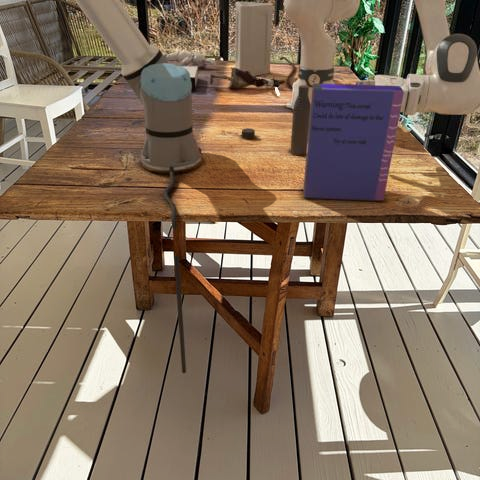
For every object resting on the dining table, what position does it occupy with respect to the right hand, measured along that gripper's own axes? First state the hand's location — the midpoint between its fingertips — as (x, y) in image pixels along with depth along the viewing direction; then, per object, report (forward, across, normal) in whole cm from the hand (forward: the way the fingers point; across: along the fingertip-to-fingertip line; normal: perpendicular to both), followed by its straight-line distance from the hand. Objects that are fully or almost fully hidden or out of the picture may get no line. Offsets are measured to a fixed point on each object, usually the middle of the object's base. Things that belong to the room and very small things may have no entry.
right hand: (355, 88), depth 120 cm
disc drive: (+71, -65, +19) cm, 98 cm away
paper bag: (+45, -96, +19) cm, 108 cm away
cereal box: (0, +25, +18) cm, 31 cm away
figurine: (+41, -66, +19) cm, 80 cm away
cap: (+29, -8, +16) cm, 34 cm away
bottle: (+13, 0, +18) cm, 22 cm away
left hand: (+29, -9, -13) cm, 33 cm away
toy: (+78, -99, +19) cm, 127 cm away
